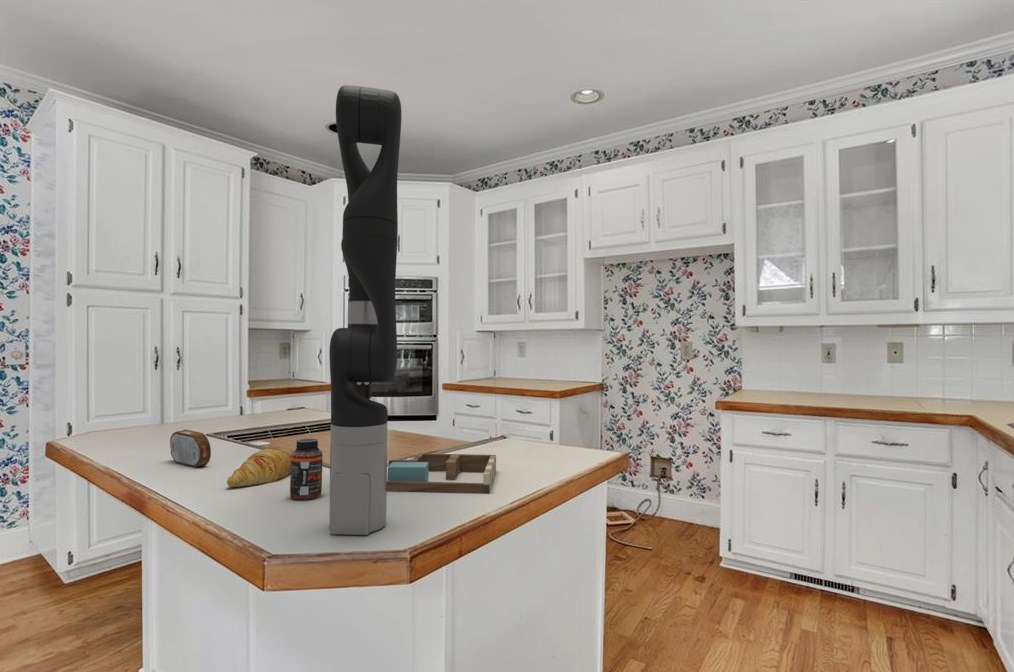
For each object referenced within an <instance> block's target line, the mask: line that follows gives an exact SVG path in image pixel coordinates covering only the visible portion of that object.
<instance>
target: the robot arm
mask: <svg viewBox="0 0 1014 672" xmlns="http://www.w3.org/2000/svg"><path fill="white" fill-rule="evenodd" d="M335 99H336V100H335V123H336V131H337V139H338V145H339V150H340V156H341V163H342V167H343V173H344V176H345V177H344V178H345V183H346V190H347V204H346V206H345V208H344V210H343V214H342V234H341V235H342V239H341V242H340V248H341V253H342V256H343V260H344V263H345V266H346V270H347V275H348V285H349V286H348V287H349V288H348V289H349V290H348V291H349V292H348V293H349V294H348V295H349V297H348V301H349V302H348V309H347V327H339V328H336V329H335V330H334V331H333V333H332V335H331V337H330V342H329V354H328V355H329V375H330V376H329V377H330V445H329V446H330V449H329V450H330V451H329V454H330V455H329V458H330V459H329V460H330V461H329V464H330V465H329V516H328V517H329V522H328V524H329V526H328V528H329V534H330V535H346V536H347V535H350V536H351V535H352V536H354V535H355V536H356V535H357V536H359V535H360V536H368V535H369V534H370V533H373V532H376V531H379V530H380V529H382V528H384V527H385V526H386V525H387V495H388V494H387V492H388V491H387V481H388V419H389V417H388V416H389V415H388V414H389V412H388V411H389V410H388V408H387V405H385V404H383V403H380V402H378V401H375V400H372V396H373V384H374V383H389V382H391V381H393V380H394V378H395V375H396V374H397V373H396V371H397V366H398V334H397V333H398V331H397V308H396V305H397V304H396V278H397V277H396V275H397V257H398V256H397V255H398V228H399V225H398V224H399V221H398V220H399V219H398V218H399V217H398V213H399V212H398V173H399V171H398V170H399V158H400V147H401V146H400V144H401V134H402V133H401V131H402V104H401V100H400V96H399V95H398V94H397V92H395V91H392V90H389V89H382V88H377V87H376V88H375V87H368V86H367V87H366V86H358V85H348V84H347V85H346V84H345V85H341V87H340V88H338V91H337V95H336V98H335ZM358 144H367V145H376V146H377V145H378V146H381V148H380V151H379V153H378V156H377V159H376V161H375V164H374V165H373V167H372V169H371V170H370V169H369V167H368V165H367V164H366V163H365V160H364V159H363V157H362V155H361V153H360V150H359V147H358ZM353 383H354V384H356V386H357V387H356V390H355V389H354V386H353Z"/></svg>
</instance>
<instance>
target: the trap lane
mask: <svg viewBox="0 0 1014 672" xmlns="http://www.w3.org/2000/svg"><path fill="white" fill-rule="evenodd" d="M392 462H429V467H428V472H437V471H446V472H445V480H446V479H447V480H446V481H449V482H446V481H428V482H413V481H388V480H387V492H402V493H403V492H408V493H415V492H416V493H446V492H447V493H448V494H449V493H450V494H452V493H454V494H456V493H457V494H490V492H491V489H492V488H491V487H492V485H493V481H494V479H495V475H496V472H497V455H496V454H472V453H471V454H469V453H468V454H463V453H462V454H461V453H460V454H459V453H418V454H417V455H415V456H414V457H413V458H412V459H389V460H388V466H389V465H390V464H391V463H392ZM459 471H460V472H459ZM458 473H483V482H456V481H455V480H456V479H455V478H457V476H458V475H459V474H458ZM448 479H450V480H448ZM452 481H455V482H452Z"/></svg>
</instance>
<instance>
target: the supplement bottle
mask: <svg viewBox="0 0 1014 672" xmlns="http://www.w3.org/2000/svg"><path fill="white" fill-rule="evenodd" d="M318 446H319V441H318V439H317V438H301V439H297V440H296V448H295V450H294V451H292V452H291V454H290V455H291V472H290V478H289V479H290V481H289V482H290V483H289V487H290V488H289V497H290V498H291V499H293V500H297V501H306V500H308V501H309V500H313V499H317V498H318V497H320V496H321V495H322V490H323V489H322V488H323V451H322V450H321V449H320V448H319V447H318Z"/></svg>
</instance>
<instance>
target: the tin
mask: <svg viewBox="0 0 1014 672" xmlns="http://www.w3.org/2000/svg"><path fill="white" fill-rule="evenodd" d="M169 442H170V443H169V445H170V446H169V447H170V456H171V458H172V459H173V460H174V461H175V462H176V464H179V465H184V466H187V467H192V468H198V467H203V466H207V465H208V464H209V462H210V460H211V455H212V453H211V452H212V448H211V444H210V440H209V438H208V437H207V436H206V434H205V433H203V432H200V431H195V430H190V429H182V430H178V431H175V432H172V434H171V436H170V438H169Z"/></svg>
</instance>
